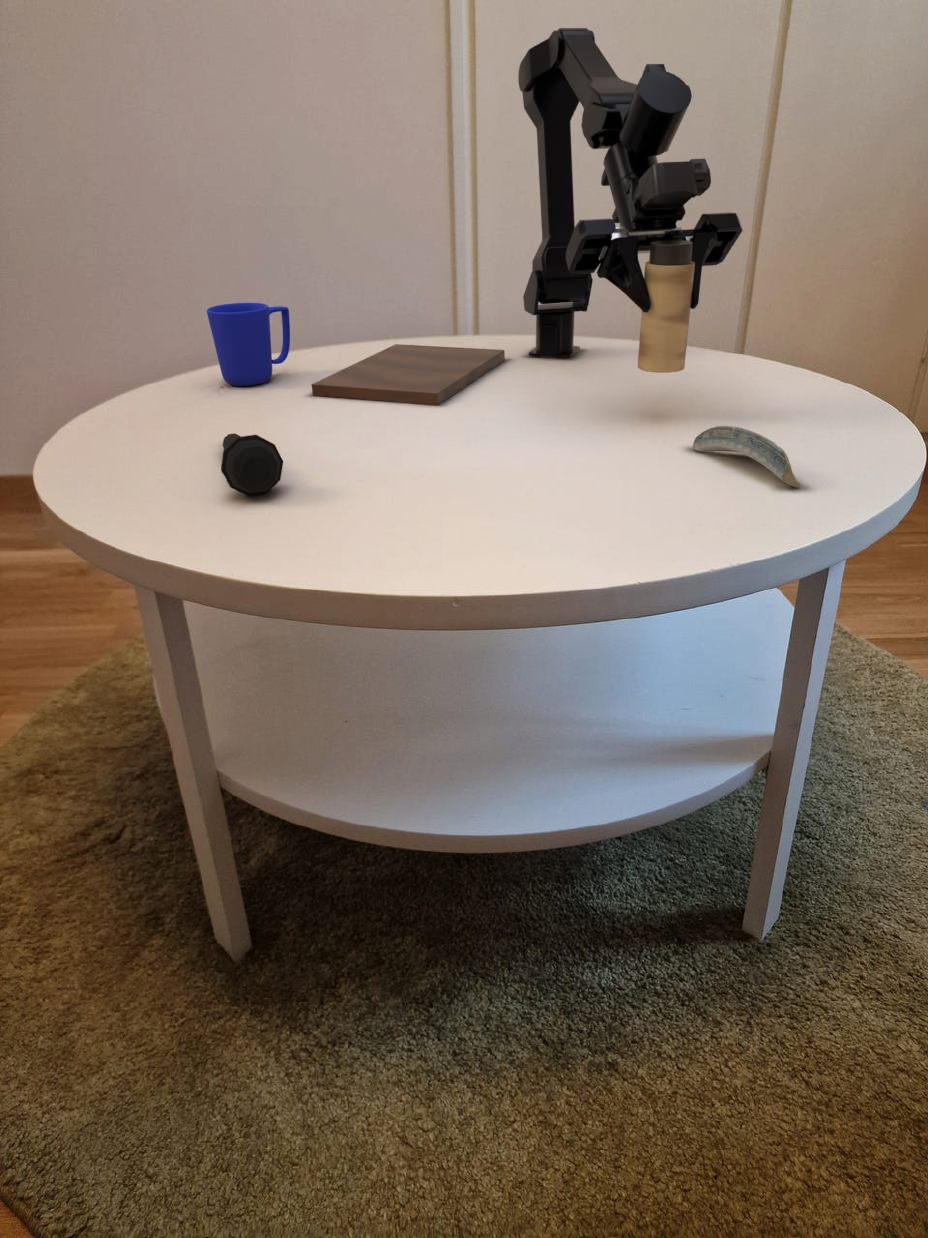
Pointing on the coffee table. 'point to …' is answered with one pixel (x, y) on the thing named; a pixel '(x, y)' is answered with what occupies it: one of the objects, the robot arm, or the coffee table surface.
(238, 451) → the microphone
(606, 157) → the robot arm
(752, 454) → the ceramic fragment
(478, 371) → the cutting board
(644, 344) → the pepper mill
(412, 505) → the coffee table surface
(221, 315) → the mug
